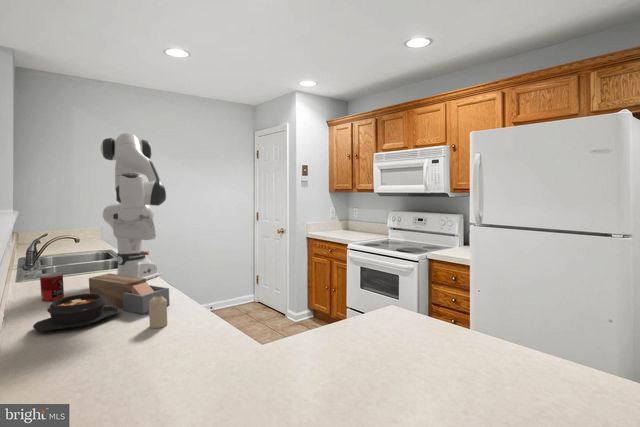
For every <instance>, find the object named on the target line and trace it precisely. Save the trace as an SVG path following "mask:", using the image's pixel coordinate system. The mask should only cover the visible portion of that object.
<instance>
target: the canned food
mask: <svg viewBox="0 0 640 427" xmlns="http://www.w3.org/2000/svg"><path fill="white" fill-rule="evenodd" d="M63 275H64V274H63V272H61V271H52V272H46V273H41V274H40V275H39V279H40V280H39V282H40V283H39V284H40V295H41V296H40V298H41V302H44V303H52V302H53V301H55V300H57V299H60V298H64V297H65V289H64V276H63Z"/></svg>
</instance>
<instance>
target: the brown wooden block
mask: <svg viewBox="0 0 640 427" xmlns="http://www.w3.org/2000/svg"><path fill="white" fill-rule="evenodd" d="M145 282H146V283H147V280H146V279H144V278H137V277H130V276H124V275H117V274H116V273H106V274H102V275H101V274H100V275H97V276H94V277H93V276H92V277H88V286H89V290H88V291H89V294H99V295H101V296H102V297H103V299H104V300H105V301H106V302H105V304H104V306H108V307H114V308H116V309H123V293H124V292H127V291H130V290H131V288H132V286H134V285H138V284H141V283H145ZM123 310H124V309H123Z"/></svg>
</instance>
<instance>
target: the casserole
mask: <svg viewBox="0 0 640 427" xmlns="http://www.w3.org/2000/svg"><path fill="white" fill-rule="evenodd" d="M105 302H106V301H105V300H104V299H103V297H102V296H101V295H99V294H90V293H80V294H79V293H78V294H73V295H67V296H64V298H60V299H57V300H55V301H53V302H50V305H49V307H48V308H47V310H46V311H47V313H49V315H50V317H49V318H45V319H42V320H39V321H36V322H35V323H34V324H33V326H32V328H33V329H34V330H36V331H43V332H46V331H47V332H48V331H53V330H54V331H55V330H62V329H68V330H69V329H78V328H83V327H87V326H90V325H92V324H94V323H96V322H99V321H101V320H103V319H106V318H109V317H111V316H114V315H116V314H118V313H119V308H117V307H112V306H107V305H104V304H105Z"/></svg>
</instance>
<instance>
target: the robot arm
mask: <svg viewBox="0 0 640 427" xmlns="http://www.w3.org/2000/svg"><path fill="white" fill-rule="evenodd" d="M100 152H101V154H102V156H103V158H104V159H105V160H109V161H115V166H114V167H115V168H114V185H115V186H114V191H115V194H116V195H115V196H116V198H115V200H116V202H117V203H113V204H109V205H107V206H106V207H104V208H103V211H102V219H103V220H104V222H106V223H107V224H108V225H109V226H110V227H111V229H112V232H113V236H114V237H115V238H116V243H117V244H116V245H117V253H116V260H117V275H124V276H130V277H137V278H144V279H146V281H149V280H151V279H154V278H157V277H161V276H163V272H161V271H158V267H157V264H156V263H155V262H153V261H152V260H150V259H149V258H147V257H146V256H149V255H150V251H149V250H148V251H144V250H143V243H142V242H143V240H144V241H151V240H155V239H156V235H157V234H156V226H155V223H154V220H153V219H154V217H155V216H154V214H155V213H154V210H153V208H152V207H151V206H155V207H156V206H161V205H163V203H164V202H166V199H167V191H166V187H165V185H164V183H163V182H162V180H161V178H160V176H159V174H158V172H157V169H156V167H155V164H154V163H153V160H152V159H151V158H152V155H153V147H152V145H151V143H150V142H149V141H148V140H146V139H139V138H138V137H137V136H136V135H135V134H133V133H130V132H124V133H121V134H119V135H118V136H117V137H116V138H115V137H114V138H112V137H108V138H104V139H103V140H102V142H101V144H100ZM142 175H144V176H145V177H146V178H147V181H144V179H143V176H142ZM156 276H157V277H156Z"/></svg>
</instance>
